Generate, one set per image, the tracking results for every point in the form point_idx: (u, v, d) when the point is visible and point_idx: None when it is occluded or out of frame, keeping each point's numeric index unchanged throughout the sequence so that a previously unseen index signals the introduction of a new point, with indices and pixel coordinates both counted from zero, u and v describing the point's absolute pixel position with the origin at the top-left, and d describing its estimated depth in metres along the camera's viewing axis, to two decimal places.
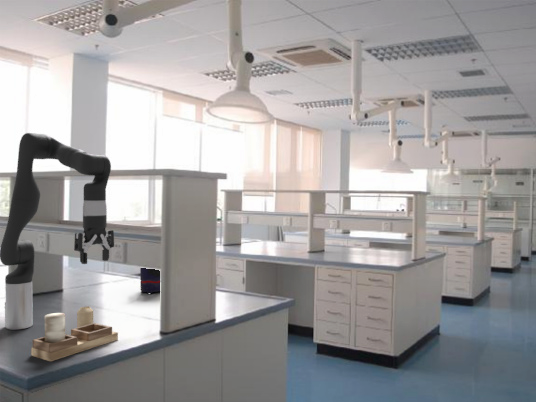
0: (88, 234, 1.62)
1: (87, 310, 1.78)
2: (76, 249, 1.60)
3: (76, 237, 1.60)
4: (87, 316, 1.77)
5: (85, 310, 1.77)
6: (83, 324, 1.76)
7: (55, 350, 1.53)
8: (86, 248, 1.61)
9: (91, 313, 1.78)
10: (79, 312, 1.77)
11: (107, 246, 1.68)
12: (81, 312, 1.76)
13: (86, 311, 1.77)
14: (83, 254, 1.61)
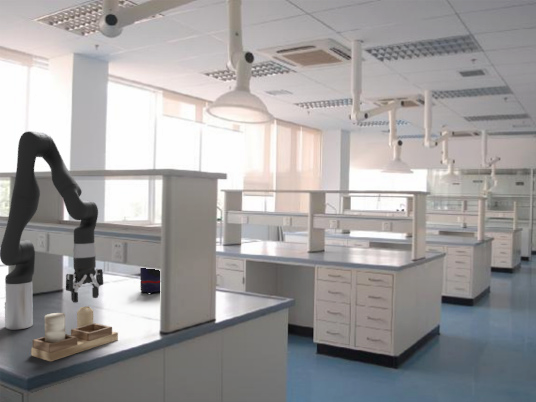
0: (78, 275, 1.75)
1: (87, 310, 1.78)
2: (67, 289, 1.73)
3: (67, 278, 1.73)
4: (87, 316, 1.77)
5: (85, 310, 1.77)
6: (83, 324, 1.76)
7: (55, 350, 1.53)
8: (77, 288, 1.75)
9: (91, 313, 1.78)
10: (79, 312, 1.77)
11: (96, 284, 1.82)
12: (81, 312, 1.76)
13: (86, 311, 1.77)
14: (74, 293, 1.74)
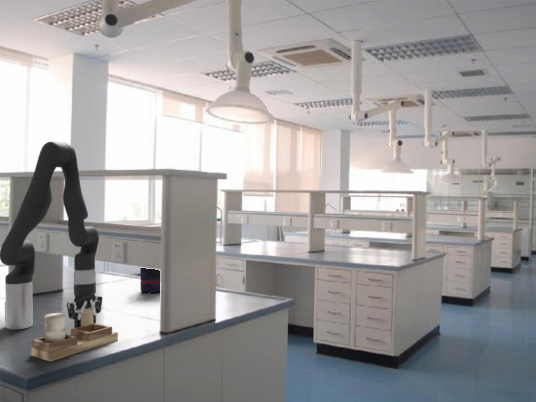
0: (78, 301, 1.75)
1: (87, 310, 1.78)
2: (70, 317, 1.74)
3: (68, 307, 1.74)
4: (87, 316, 1.77)
5: (85, 310, 1.77)
6: (83, 324, 1.76)
7: (55, 350, 1.53)
8: (79, 315, 1.76)
9: (91, 313, 1.78)
10: None
11: (94, 312, 1.81)
12: None
13: (86, 311, 1.77)
14: (77, 321, 1.76)
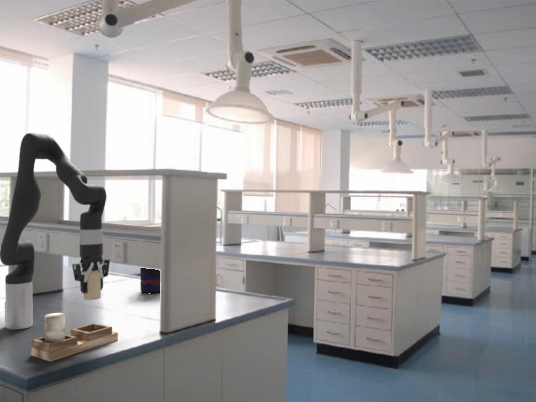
0: (85, 263, 1.66)
1: (94, 272, 1.68)
2: (76, 279, 1.65)
3: (74, 268, 1.64)
4: (94, 278, 1.67)
5: (92, 272, 1.67)
6: (90, 287, 1.67)
7: (55, 350, 1.53)
8: (86, 278, 1.66)
9: (98, 276, 1.69)
10: None
11: (101, 276, 1.71)
12: None
13: (92, 274, 1.67)
14: (83, 284, 1.66)
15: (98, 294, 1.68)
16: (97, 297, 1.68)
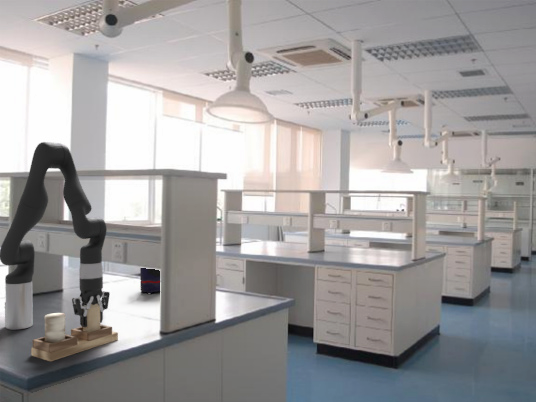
0: (85, 297, 1.66)
1: (94, 306, 1.68)
2: (76, 314, 1.65)
3: (74, 303, 1.64)
4: (93, 312, 1.67)
5: (92, 306, 1.68)
6: (89, 321, 1.67)
7: (55, 350, 1.53)
8: (85, 312, 1.66)
9: (98, 309, 1.69)
10: None
11: (101, 309, 1.71)
12: None
13: (92, 307, 1.67)
14: (83, 318, 1.66)
15: (98, 328, 1.68)
16: None
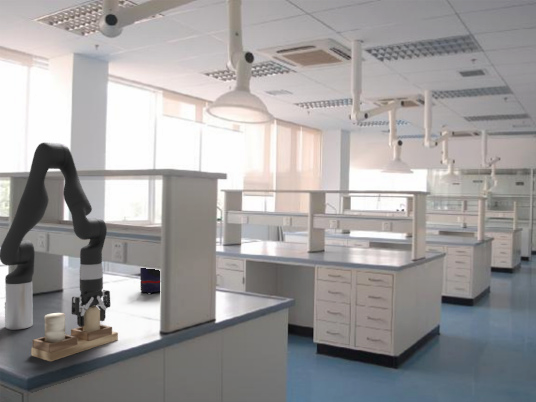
0: (85, 297, 1.66)
1: (93, 309, 1.68)
2: (73, 313, 1.64)
3: (73, 301, 1.64)
4: (93, 316, 1.67)
5: (91, 309, 1.68)
6: (89, 324, 1.67)
7: (55, 350, 1.53)
8: (83, 311, 1.65)
9: (98, 313, 1.69)
10: (85, 312, 1.67)
11: (103, 307, 1.72)
12: (87, 312, 1.67)
13: (92, 311, 1.67)
14: (80, 317, 1.65)
15: None
16: None
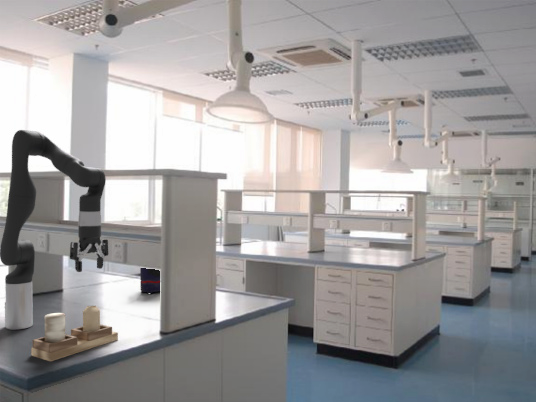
0: (83, 243, 1.70)
1: (93, 309, 1.68)
2: (71, 258, 1.68)
3: (71, 246, 1.68)
4: (93, 316, 1.67)
5: (91, 309, 1.68)
6: (89, 324, 1.67)
7: (55, 350, 1.53)
8: (81, 257, 1.69)
9: (98, 313, 1.69)
10: (85, 312, 1.67)
11: (101, 254, 1.76)
12: (87, 311, 1.67)
13: (92, 311, 1.67)
14: (78, 262, 1.69)
15: None
16: None
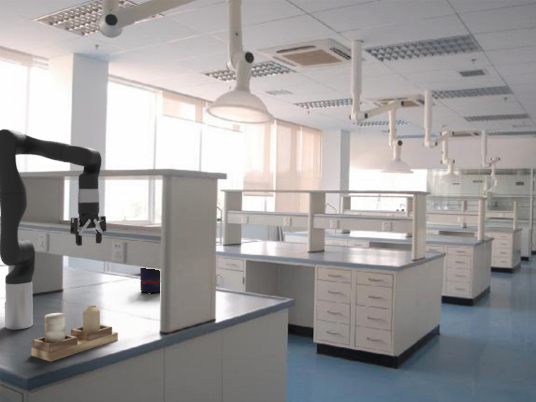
0: (83, 219, 1.81)
1: (93, 309, 1.68)
2: (72, 232, 1.79)
3: (72, 221, 1.79)
4: (93, 316, 1.67)
5: (91, 309, 1.68)
6: (89, 324, 1.67)
7: (55, 350, 1.53)
8: (81, 231, 1.80)
9: (98, 313, 1.69)
10: (85, 312, 1.67)
11: (100, 230, 1.88)
12: (87, 312, 1.67)
13: (92, 311, 1.67)
14: (78, 237, 1.80)
15: None
16: None
